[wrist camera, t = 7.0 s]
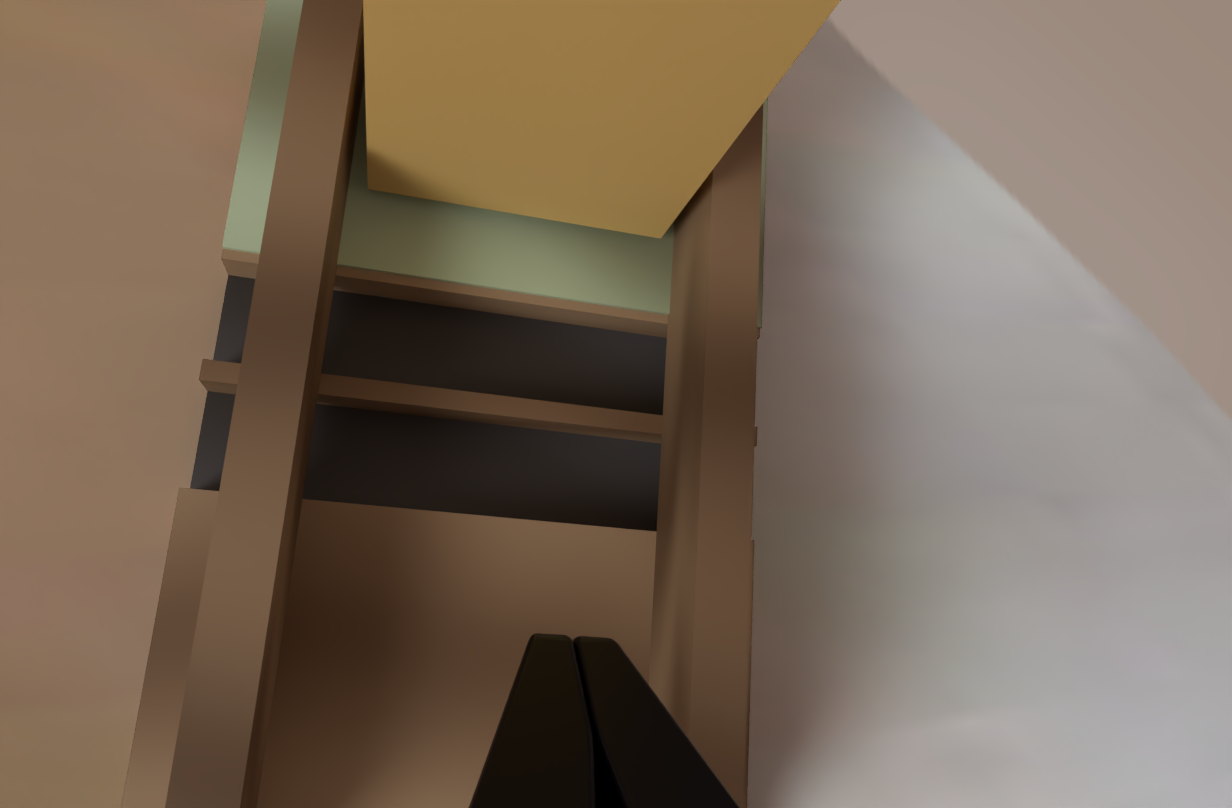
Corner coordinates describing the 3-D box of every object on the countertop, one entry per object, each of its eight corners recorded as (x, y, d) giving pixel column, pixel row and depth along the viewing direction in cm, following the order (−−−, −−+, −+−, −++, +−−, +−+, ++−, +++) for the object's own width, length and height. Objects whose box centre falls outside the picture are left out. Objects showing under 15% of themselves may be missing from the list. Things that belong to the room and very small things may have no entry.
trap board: (721, 875, 18) (803, 938, 15) (124, 874, 16) (52, 949, 12) (746, 119, 22) (814, 28, 19) (276, 24, 20) (254, -104, 16)
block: (660, 238, 19) (903, -83, 10) (367, 188, 18) (356, -231, 9) (667, 111, 20) (899, -289, 11) (387, 54, 18) (395, -456, 10)
